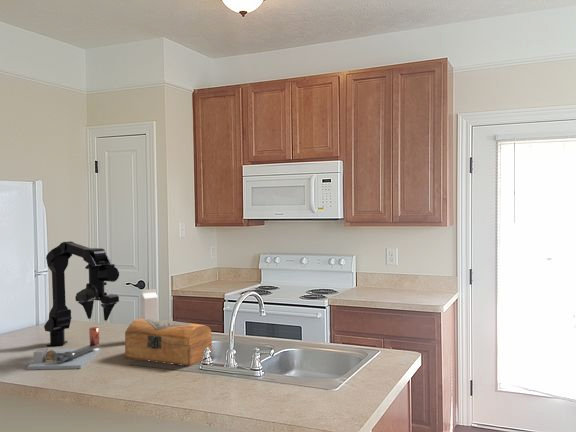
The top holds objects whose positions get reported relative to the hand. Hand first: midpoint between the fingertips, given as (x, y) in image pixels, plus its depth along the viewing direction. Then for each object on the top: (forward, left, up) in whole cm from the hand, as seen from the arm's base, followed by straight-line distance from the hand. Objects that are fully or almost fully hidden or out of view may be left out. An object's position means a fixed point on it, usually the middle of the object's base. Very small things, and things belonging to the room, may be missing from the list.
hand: (97, 319), depth 222 cm
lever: (+9, -4, -11) cm, 15 cm away
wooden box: (+9, +29, -14) cm, 33 cm away
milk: (-20, +16, -14) cm, 29 cm away
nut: (+14, -13, -10) cm, 22 cm away
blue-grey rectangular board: (+9, -9, -13) cm, 19 cm away
